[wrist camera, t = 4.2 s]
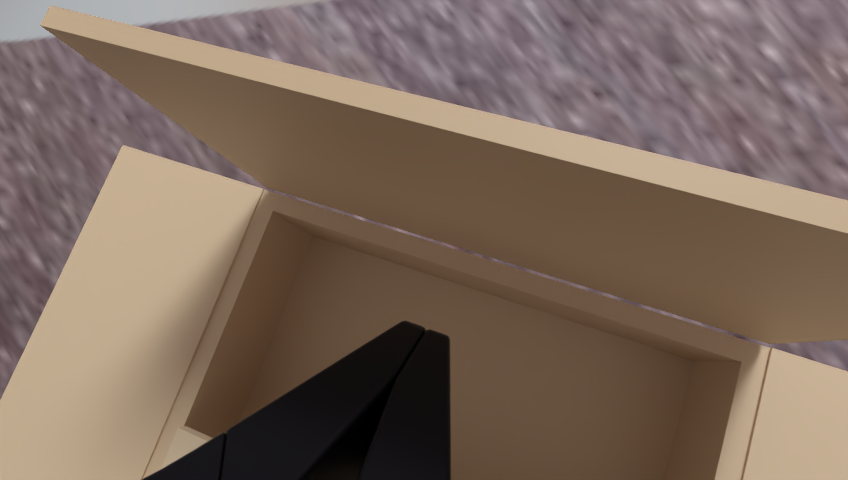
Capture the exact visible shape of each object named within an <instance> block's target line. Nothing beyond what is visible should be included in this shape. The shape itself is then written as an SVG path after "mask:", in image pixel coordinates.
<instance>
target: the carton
mask: <svg viewBox="0 0 848 480" xmlns="http://www.w3.org/2000/svg"><path fill="white" fill-rule="evenodd" d="M401 321H409V322H412V323H415V324H417V325H420V326H423V327H424V328H425V329H426V330H428V329H431V330H434V331H437V332H440V333H443V334H445V335H448V336H449V338H450V403H451V480H848V371H844V370H841V369H838V368H835V367H832V366H828V365H825V364H822V363H819V362H816V361H812V360H809V359H806V358H803V357H800V356H796V355H793V354H790V353H787V352H784V351H780V350H777V349H774V348H769V347H765V346H762V345H759V344H756V343H753V342H749V341H746V340H743V339H740V338H737V337H733V336H730V335H727V334H724V333H721V332H717V331H714V330H711V329H708V328H705V327H701V326H698V325H695V324H692V323H689V322H685V321H682V320H679V319H676V318H673V317H669V316H666V315H663V314H660V313H657V312H654V311H650V310H647V309H644V308H641V307H638V306H634V305H631V304H628V303H625V302H622V301H618V300H615V299H612V298H609V297H606V296H602V295H599V294H596V293H593V292H590V291H586V290H583V289H580V288H577V287H574V286H570V285H567V284H564V283H561V282H558V281H554V280H551V279H548V278H545V277H542V276H538V275H535V274H532V273H529V272H526V271H522V270H519V269H516V268H513V267H510V266H506V265H503V264H500V263H497V262H494V261H490V260H487V259H484V258H481V257H478V256H474V255H471V254H468V253H465V252H462V251H458V250H455V249H452V248H449V247H446V246H443V245H439V244H436V243H433V242H430V241H427V240H423V239H420V238H417V237H414V236H411V235H407V234H404V233H401V232H398V231H395V230H391V229H388V228H385V227H382V226H379V225H375V224H372V223H369V222H366V221H363V220H359V219H356V218H353V217H350V216H347V215H343V214H340V213H337V212H334V211H331V210H327V209H324V208H321V207H318V206H315V205H311V204H308V203H305V202H302V201H299V200H295V199H292V198H289V197H286V196H283V195H279V194H276V193H273V192H270V191H267V190H264V189H262V188H259V187H256V186H252V185H249V184H246V183H243V182H240V181H236V180H233V179H230V178H227V177H224V176H220V175H217V174H214V173H211V172H208V171H204V170H201V169H198V168H195V167H192V166H188V165H185V164H182V163H179V162H176V161H172V160H169V159H166V158H163V157H160V156H156V155H153V154H150V153H147V152H144V151H140V150H137V149H134V148H131V147H128V146H124V145H123V146H122V148H121V150H120V152H119V154H118V156H117V158H116V160H115V162H114V165H113V167H112V169H111V171H110V173H109V175H108V177H107V179H106V181H105V183H104V185H103V187H102V190H101V192H100V194H99V196H98V198H97V200H96V202H95V204H94V206H93V208H92V210H91V212H90V215H89V217H88V219H87V221H86V223H85V225H84V227H83V229H82V231H81V233H80V235H79V237H78V240H77V242H76V244H75V246H74V248H73V250H72V252H71V254H70V256H69V258H68V260H67V262H66V265H65V267H64V269H63V271H62V273H61V275H60V277H59V279H58V281H57V283H56V285H55V288H54V290H53V292H52V294H51V296H50V298H49V300H48V302H47V304H46V306H45V308H44V310H43V313H42V315H41V317H40V319H39V321H38V323H37V325H36V327H35V329H34V331H33V333H32V335H31V338H30V340H29V342H28V344H27V346H26V348H25V350H24V352H23V354H22V356H21V358H20V360H19V363H18V365H17V367H16V369H15V371H14V373H13V375H12V377H11V379H10V381H9V383H8V385H7V388H6V390H5V392H4V394H3V396H2V398H1V400H0V480H142V479H144V478H145V477H147V476H149V475H151V474H153V473H155V472H157V471H159V470H161V469H162V468H164V467H166V466H167V465H169V464H171V463H172V462H174V461H176V460H178V459H179V458H181V457H183V456H184V455H186V454H188V453H189V452H191V451H193V450H195V449H196V448H198V447H200V446H201V445H203V444H204V443H206V442H208V441H209V440H211V439H212V438H214V437H216V436H217V435H219V434H220V433H223V432H224V433H227V430H228V429H229V428H231V427H232V426H234V425H235V424H237V423H239V422H240V421H242V420H243V419H245V418H247V417H248V416H250V415H251V414H253V413H255V412H256V411H258V410H259V409H261V408H263V407H264V406H266V405H268V404H269V403H271V402H272V401H274V400H276V399H277V398H279V397H280V396H282V395H284V394H285V393H287V392H288V391H290V390H292V389H293V388H295V387H296V386H298V385H300V384H301V383H303V382H305V381H306V380H308V379H309V378H311V377H313V376H314V375H316V374H317V373H319V372H321V371H322V370H324V369H325V368H327V367H329V366H330V365H332V364H333V363H335V362H337V361H338V360H340V359H341V358H343V357H345V356H346V355H348V354H350V353H351V352H353V351H354V350H356V349H358V348H359V347H361V346H362V345H364V344H366V343H367V342H369V341H370V340H372V339H374V338H375V337H377V336H378V335H380V334H382V333H383V332H385V331H387V330H388V329H390V328H391V327H393V326H395V325H396V324H398V323H399V322H401Z"/></svg>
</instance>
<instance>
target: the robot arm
mask: <svg viewBox="0 0 848 480" xmlns="http://www.w3.org/2000/svg"><path fill="white" fill-rule="evenodd" d="M142 480H451V403H450V338H449V336H448V335H445V334H443V333H440V332H437V331H434V330H431V329H428V330H426V329H425V328H424V327H423V326H420V325H417V324H415V323H412V322H409V321H401V322H399V323H398V324H396V325H395V326H393V327H391V328H390V329H388V330H387V331H385V332H383V333H382V334H380V335H378V336H377V337H375V338H374V339H372V340H370V341H369V342H367V343H366V344H364V345H362V346H361V347H359V348H358V349H356V350H354V351H353V352H351V353H350V354H348V355H346V356H345V357H343V358H341V359H340V360H338V361H337V362H335V363H333V364H332V365H330V366H329V367H327V368H325V369H324V370H322V371H321V372H319V373H317V374H316V375H314V376H313V377H311V378H309V379H308V380H306V381H305V382H303V383H301V384H300V385H298V386H296V387H295V388H293V389H292V390H290V391H288V392H287V393H285V394H284V395H282V396H280V397H279V398H277V399H276V400H274V401H272V402H271V403H269V404H268V405H266V406H264V407H263V408H261V409H259V410H258V411H256V412H255V413H253V414H251V415H250V416H248V417H247V418H245V419H243V420H242V421H240V422H239V423H237V424H235V425H234V426H232V427H231V428H229V429H228V430H227V433H224V432H223V433H220V434H219V435H217V436H216V437H214V438H212V439H211V440H209V441H208V442H206V443H204V444H203V445H201V446H200V447H198V448H196V449H195V450H193V451H191V452H189V453H188V454H186V455H184V456H183V457H181V458H179V459H178V460H176V461H174V462H172V463H171V464H169V465H167V466H166V467H164V468H162V469H161V470H159V471H157V472H155V473H153V474H151V475H149V476H147V477H145V478H144V479H142Z"/></svg>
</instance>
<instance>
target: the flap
mask: <svg viewBox="0 0 848 480" xmlns="http://www.w3.org/2000/svg"><path fill="white" fill-rule="evenodd" d="M40 25H41V26H42V27H43V28H45V29H46V30H47V31H49V32H50V33H52V34H53V35H54V36H56V37H57V38H59V39H60V40H61V41H63V42H64V43H66V44H67V45H68V46H70V47H71V48H73V49H74V50H75V51H77V52H78V53H80V54H81V55H82V56H84V57H85V58H87V59H88V60H89V61H91V62H92V63H94V64H95V65H96V66H98V67H99V68H101V69H102V70H103V71H105V72H106V73H108V74H109V75H110V76H112V77H113V78H115V79H116V80H117V81H119V82H120V83H122V84H123V85H124V86H126V87H127V88H129V89H130V90H131V91H133V92H134V93H136V94H137V95H138V96H140V97H141V98H143V99H144V100H145V101H147V102H148V103H150V104H151V105H152V106H154V107H155V108H156V109H158V110H159V111H161V112H162V113H163V114H165V115H166V116H168V117H169V118H170V119H172V120H173V121H175V122H176V123H177V124H179V125H180V126H182V127H183V128H184V129H186V130H187V131H189V132H190V133H191V134H193V135H194V136H196V137H197V138H198V139H200V140H201V141H203V142H204V143H205V144H207V145H208V146H210V147H211V148H212V149H214V150H215V151H217V152H218V153H219V154H221V155H222V156H224V157H225V158H226V159H228V160H229V161H231V162H232V163H233V164H235V165H236V166H238V167H239V168H240V169H242V170H243V171H245V172H246V173H247V174H249V175H250V176H252V177H253V178H254V179H256V180H257V181H259V182H260V183H261V184H263V185H264V186H266V187H267V188H270V189H274V190H277V191H280V192H283V193H286V194H290V195H293V196H296V197H299V198H302V199H306V200H309V201H312V202H315V203H319V204H322V205H325V206H328V207H331V208H335V209H338V210H341V211H344V212H347V213H351V214H354V215H357V216H360V217H364V218H367V219H370V220H373V221H376V222H380V223H383V224H386V225H389V226H392V227H396V228H399V229H402V230H405V231H409V232H412V233H415V234H418V235H421V236H425V237H428V238H431V239H434V240H437V241H441V242H444V243H447V244H450V245H454V246H457V247H460V248H463V249H466V250H470V251H473V252H476V253H479V254H482V255H486V256H489V257H492V258H495V259H499V260H502V261H505V262H508V263H511V264H515V265H518V266H521V267H524V268H527V269H531V270H534V271H537V272H540V273H544V274H547V275H550V276H553V277H556V278H560V279H563V280H566V281H569V282H572V283H576V284H579V285H582V286H585V287H589V288H592V289H595V290H598V291H601V292H605V293H608V294H611V295H614V296H617V297H621V298H624V299H627V300H630V301H634V302H637V303H640V304H643V305H646V306H650V307H653V308H656V309H659V310H662V311H666V312H669V313H672V314H675V315H679V316H682V317H685V318H688V319H691V320H695V321H698V322H701V323H704V324H707V325H711V326H714V327H717V328H720V329H723V330H727V331H730V332H733V333H736V334H740V335H743V336H746V337H749V338H752V339H756V340H759V341H762V342H765V343H768V344H776V343H795V342H814V341H832V340H848V201H847V200H843V199H839V198H835V197H831V196H827V195H823V194H819V193H815V192H811V191H807V190H802V189H798V188H794V187H790V186H786V185H782V184H778V183H774V182H770V181H766V180H762V179H758V178H753V177H749V176H745V175H741V174H737V173H733V172H729V171H725V170H721V169H717V168H713V167H708V166H704V165H700V164H696V163H692V162H688V161H684V160H680V159H676V158H672V157H668V156H664V155H659V154H655V153H651V152H647V151H643V150H639V149H635V148H631V147H627V146H623V145H619V144H615V143H610V142H606V141H602V140H598V139H594V138H590V137H586V136H582V135H578V134H574V133H570V132H565V131H561V130H557V129H553V128H549V127H545V126H541V125H537V124H533V123H529V122H525V121H521V120H516V119H512V118H508V117H504V116H500V115H496V114H492V113H488V112H484V111H480V110H476V109H472V108H467V107H463V106H459V105H455V104H451V103H447V102H443V101H439V100H435V99H431V98H427V97H423V96H418V95H414V94H410V93H406V92H402V91H398V90H394V89H390V88H386V87H382V86H378V85H373V84H369V83H365V82H361V81H357V80H353V79H349V78H345V77H341V76H337V75H333V74H329V73H324V72H320V71H316V70H312V69H308V68H304V67H300V66H296V65H292V64H288V63H284V62H280V61H275V60H271V59H267V58H263V57H259V56H255V55H251V54H247V53H243V52H239V51H235V50H230V49H226V48H222V47H218V46H214V45H210V44H206V43H202V42H198V41H194V40H190V39H186V38H181V37H177V36H173V35H169V34H165V33H161V32H157V31H153V30H149V29H145V28H141V27H137V26H132V25H128V24H124V23H120V22H116V21H112V20H108V19H104V18H100V17H96V16H92V15H87V14H83V13H79V12H75V11H71V10H67V9H63V8H59V7H55V6H50V8H49V9H48V11H47V13H46V15H45V17H44V19H43V21H42V22H41V24H40Z"/></svg>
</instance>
